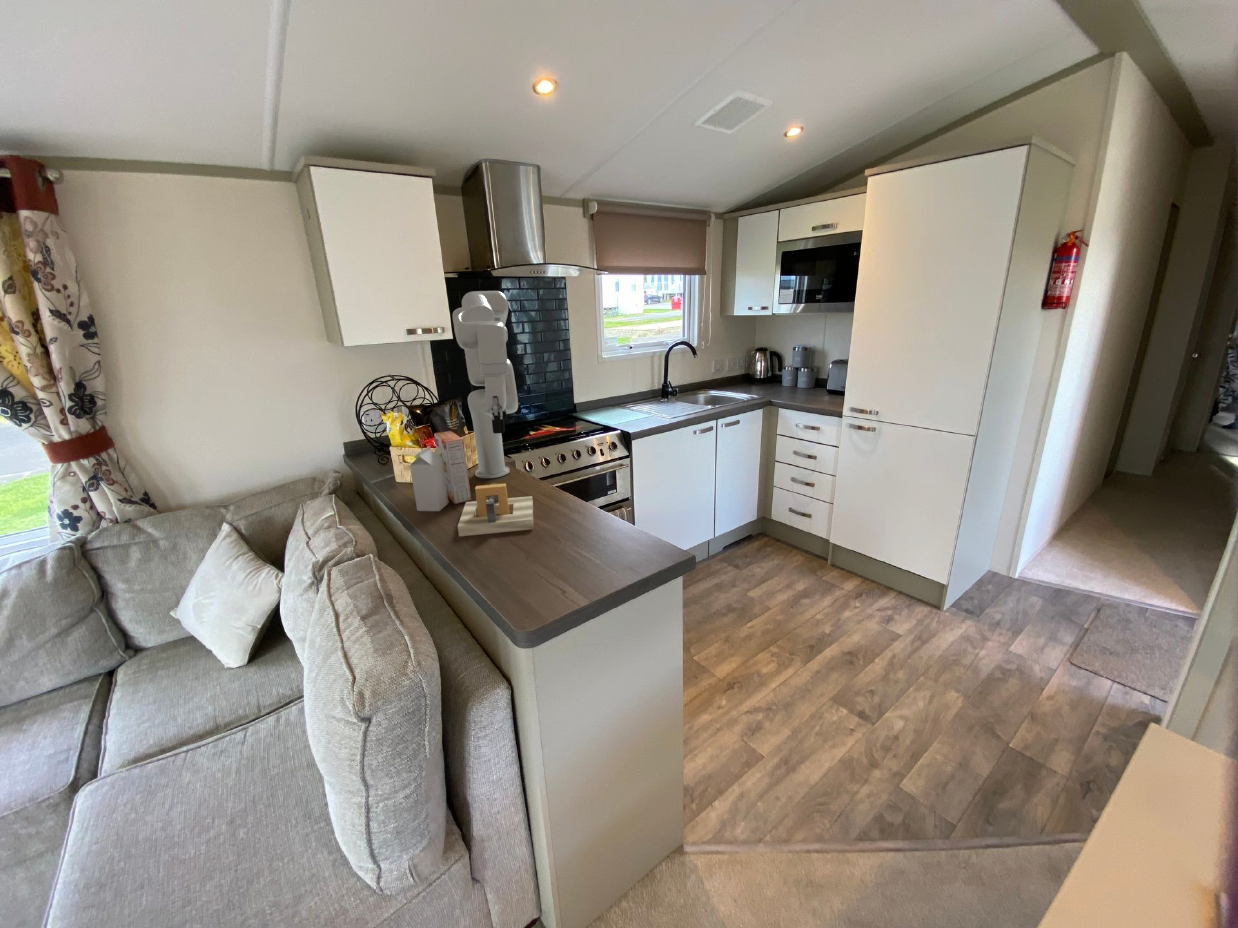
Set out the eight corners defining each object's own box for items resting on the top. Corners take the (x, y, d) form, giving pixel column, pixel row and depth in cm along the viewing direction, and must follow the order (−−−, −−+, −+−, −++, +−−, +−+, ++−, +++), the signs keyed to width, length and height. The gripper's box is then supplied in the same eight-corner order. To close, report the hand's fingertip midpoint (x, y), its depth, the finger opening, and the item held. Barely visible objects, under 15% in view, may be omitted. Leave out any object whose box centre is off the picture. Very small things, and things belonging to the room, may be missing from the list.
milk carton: (449, 503, 158) (440, 446, 153) (439, 511, 152) (430, 452, 146) (427, 503, 159) (418, 446, 153) (417, 511, 152) (407, 452, 147)
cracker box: (442, 492, 168) (433, 432, 162) (460, 488, 171) (451, 430, 165) (453, 505, 157) (444, 441, 150) (472, 500, 160) (463, 438, 153)
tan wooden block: (479, 516, 144) (475, 486, 141) (509, 513, 145) (505, 483, 142) (479, 519, 142) (475, 488, 139) (508, 516, 143) (505, 486, 140)
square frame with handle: (467, 511, 151) (463, 485, 149) (533, 505, 154) (530, 479, 152) (459, 536, 134) (454, 507, 132) (533, 529, 137) (530, 500, 135)
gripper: (484, 365, 145) (490, 422, 151) (476, 374, 129) (483, 437, 135) (510, 364, 146) (515, 420, 152) (505, 373, 130) (511, 435, 136)
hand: (500, 428), depth 143 cm, fingers open, 9 cm apart
